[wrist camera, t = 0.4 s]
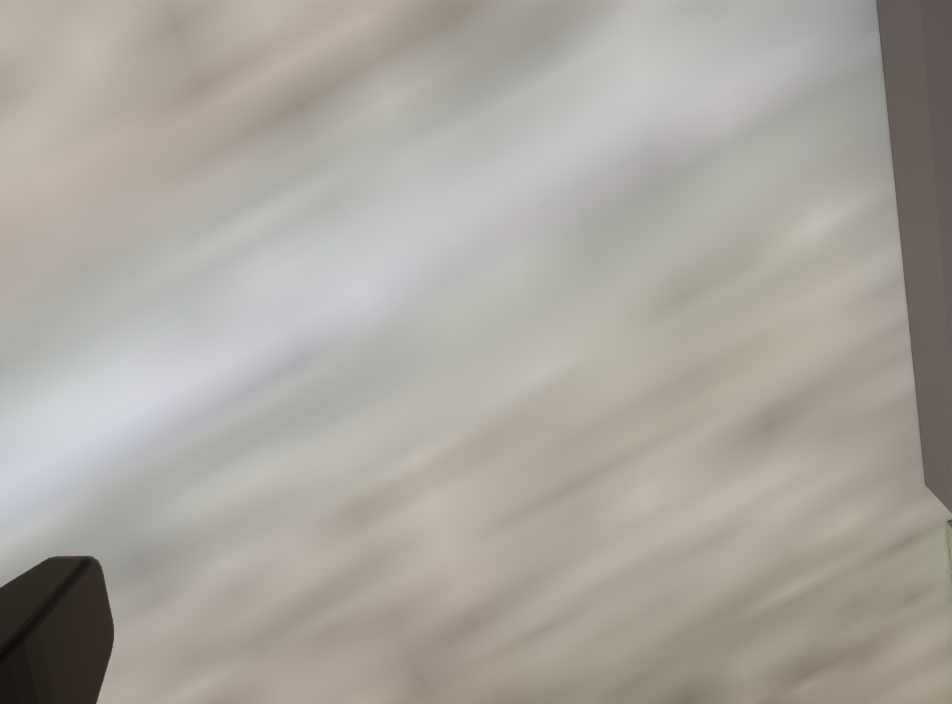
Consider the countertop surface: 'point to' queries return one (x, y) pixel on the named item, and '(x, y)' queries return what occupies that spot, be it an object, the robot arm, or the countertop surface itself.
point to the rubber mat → (950, 541)
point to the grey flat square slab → (924, 208)
